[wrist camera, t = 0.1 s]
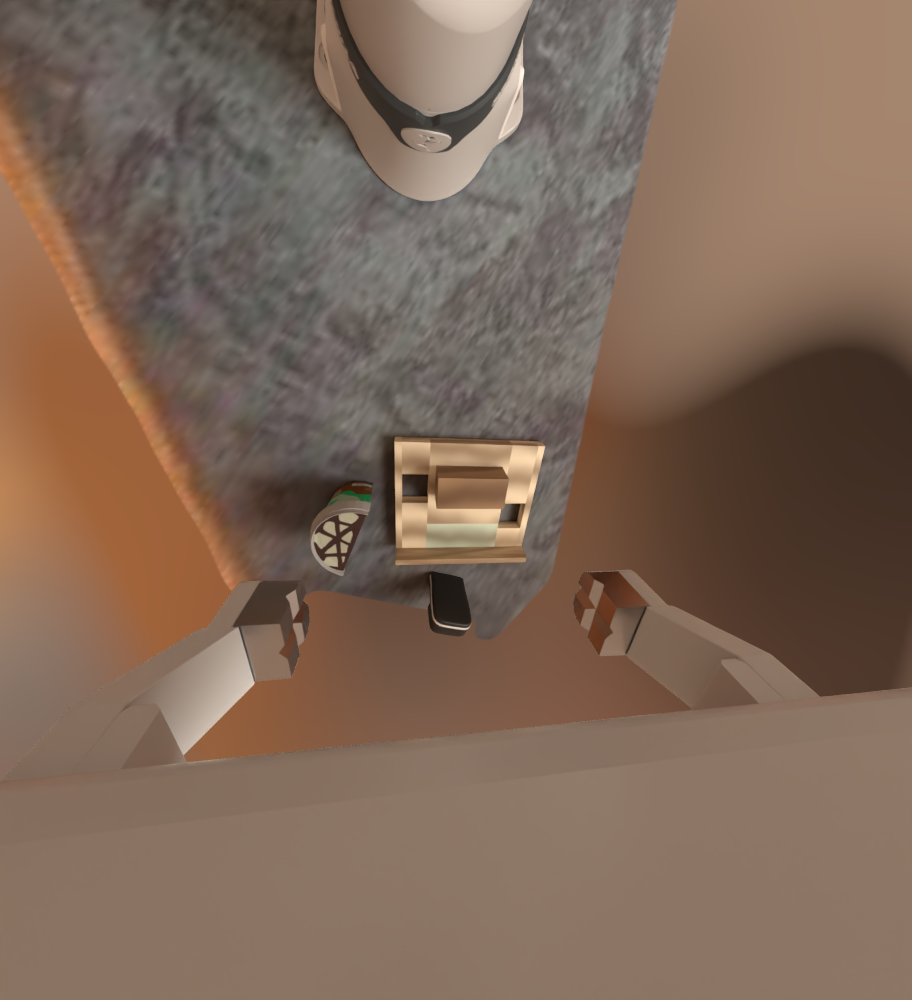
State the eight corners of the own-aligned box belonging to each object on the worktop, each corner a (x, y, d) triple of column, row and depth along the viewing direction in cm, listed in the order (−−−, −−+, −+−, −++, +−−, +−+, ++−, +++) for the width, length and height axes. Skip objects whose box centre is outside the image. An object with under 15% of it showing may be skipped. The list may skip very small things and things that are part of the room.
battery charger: (423, 584, 63) (426, 636, 53) (430, 570, 61) (434, 621, 52) (457, 590, 65) (465, 641, 55) (464, 577, 63) (474, 627, 54)
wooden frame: (394, 436, 47) (393, 450, 43) (540, 441, 50) (552, 454, 46) (396, 545, 57) (395, 564, 53) (517, 543, 60) (525, 561, 56)
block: (436, 465, 48) (438, 478, 45) (502, 466, 49) (509, 479, 46) (434, 494, 51) (436, 508, 47) (497, 495, 52) (503, 509, 49)
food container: (335, 461, 48) (319, 496, 39) (376, 475, 50) (369, 511, 41) (314, 525, 53) (296, 568, 45) (352, 535, 55) (341, 578, 47)
